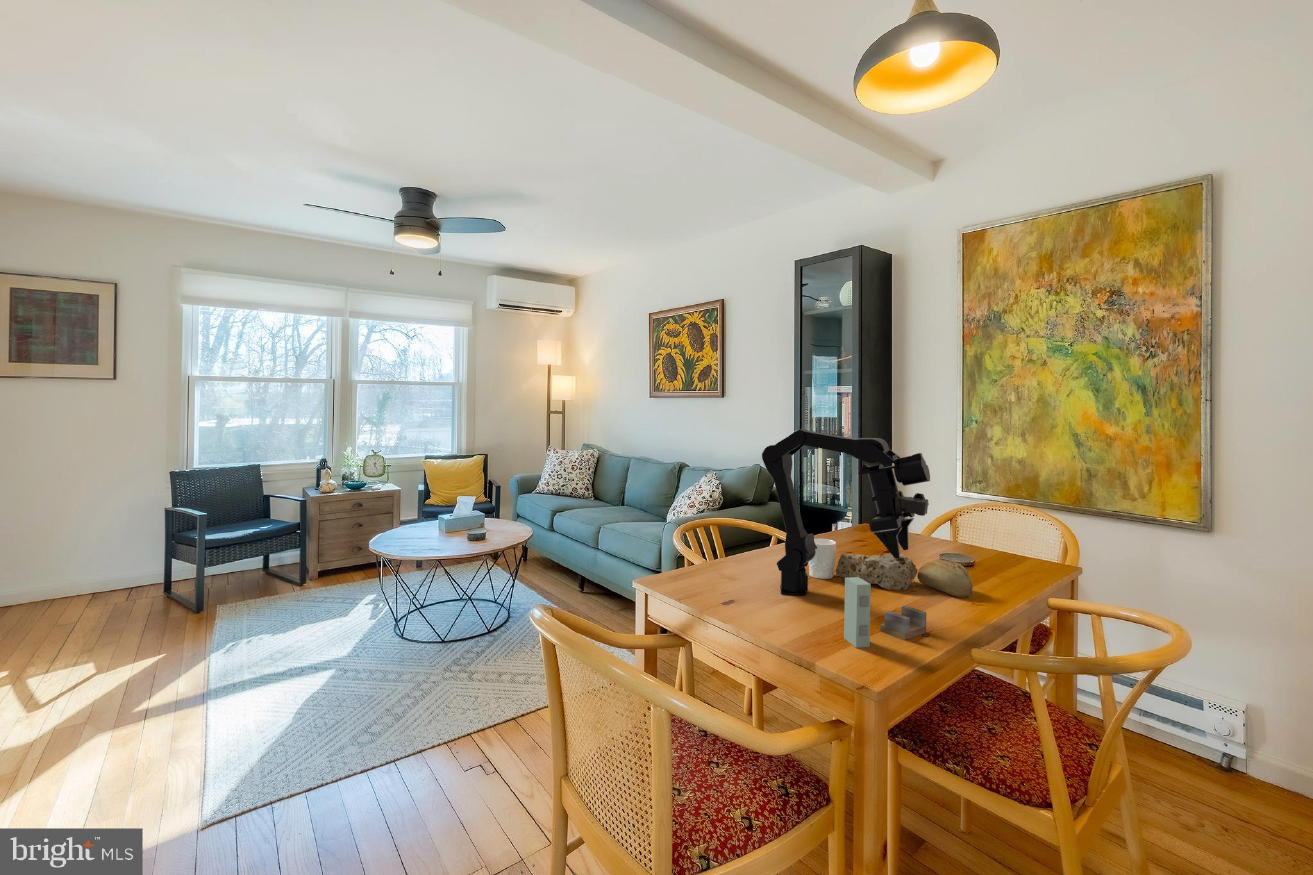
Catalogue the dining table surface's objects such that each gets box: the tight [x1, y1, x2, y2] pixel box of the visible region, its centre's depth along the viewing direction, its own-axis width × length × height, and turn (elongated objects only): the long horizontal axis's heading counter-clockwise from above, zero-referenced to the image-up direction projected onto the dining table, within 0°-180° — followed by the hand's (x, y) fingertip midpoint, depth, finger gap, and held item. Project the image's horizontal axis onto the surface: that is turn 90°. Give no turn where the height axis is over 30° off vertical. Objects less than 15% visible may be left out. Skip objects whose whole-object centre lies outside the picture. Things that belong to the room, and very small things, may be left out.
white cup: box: [808, 538, 837, 580], centre depth 167 cm, size 8×8×10 cm
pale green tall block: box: [843, 577, 872, 649], centre depth 120 cm, size 5×3×13 cm, turn 10°
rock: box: [835, 553, 919, 591], centre depth 163 cm, size 21×14×10 cm
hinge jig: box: [879, 605, 928, 641], centre depth 126 cm, size 6×8×4 cm
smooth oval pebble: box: [916, 558, 973, 598], centre depth 154 cm, size 10×15×8 cm, turn 27°
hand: (901, 553), depth 137 cm, fingers open, 9 cm apart
